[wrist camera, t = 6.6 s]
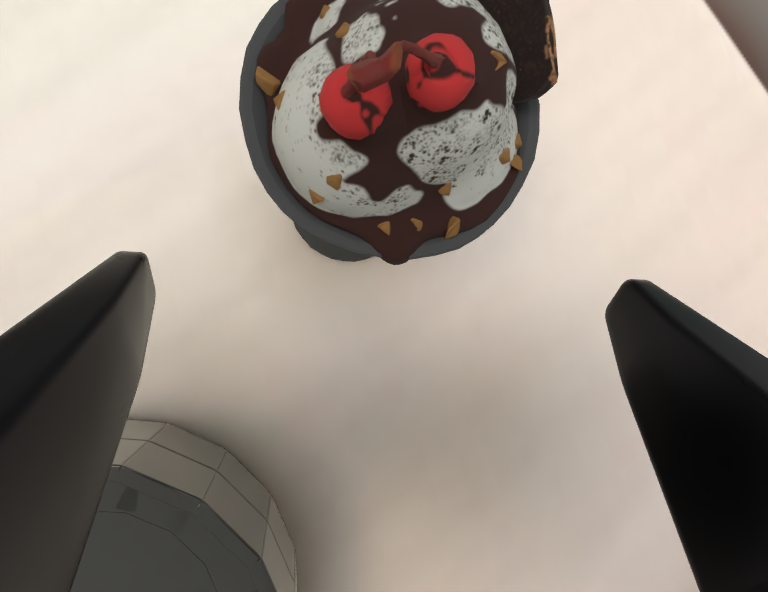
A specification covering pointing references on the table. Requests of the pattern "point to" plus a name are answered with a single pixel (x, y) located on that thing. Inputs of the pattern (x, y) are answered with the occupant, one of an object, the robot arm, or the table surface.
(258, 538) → the bowl
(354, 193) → the sundae
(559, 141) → the table surface
